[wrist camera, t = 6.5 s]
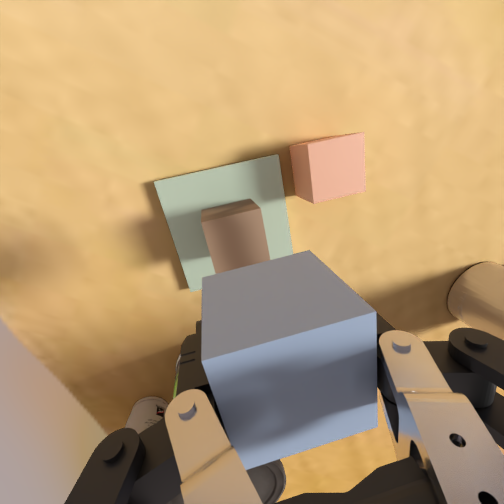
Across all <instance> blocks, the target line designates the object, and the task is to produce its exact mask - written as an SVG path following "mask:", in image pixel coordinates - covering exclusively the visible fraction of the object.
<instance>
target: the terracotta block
mask: <svg viewBox="0 0 504 504" xmlns="http://www.w3.org/2000/svg"><path fill="white" fill-rule="evenodd" d="M289 147H290V155H291V162H292V170H293V178H294V186H295V193H296V196H298V197H300V198H303V199H305V200H307V201H309V202H311V203H313V204H315V203H319V202H323V201H327V200H331V199H336V198H340V197H344V196H348V195H352V194H356V193H361V192H365V191H366V187H365V147H364V132H361V133H353V134H345V135H337V136H332V137H328V138H323V139H319V140H314V141H309V142H305V143H300V144H295V145H291V146H289Z"/></svg>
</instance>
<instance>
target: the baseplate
mask: <svg viewBox="0 0 504 504" xmlns="http://www.w3.org/2000/svg"><path fill="white" fill-rule="evenodd" d="M154 184H155V187H156V190H157V193H158V196H159V199H160V202H161V205H162V208H163V211H164V214H165V217H166V220H167V223H168V226H169V229H170V232H171V235H172V238H173V241H174V244H175V247H176V250H177V253H178V256H179V259H180V262H181V265H182V268H183V271H184V274H185V277H186V280H187V283H188V286H189V289H190V292H193V291H197V290H201V289H202V277H206V276H210V275H214V274H216V273H215V270H214V266H213V263H212V259H211V256H210V252H209V249H208V245H207V242H206V238H205V235H204V231H203V228H202V224H201V210H203V209H207V208H212V207H216V206H220V205H224V204H229V203H233V202H237V201H242V200H246V199H250V198H251V199H252V200H253V201H254V202H255V203H256V204H257V205H258V206H259V207H260V208H261V212H262V217H263V223H264V228H265V234H266V239H267V244H268V250H269V255H270V260H273V259H277V258H281V257H285V256H289V255H292V254H293V249H292V242H291V236H290V229H289V222H288V215H287V208H286V202H285V195H284V188H283V181H282V175H281V168H280V161H279V154H275V155H270V156H266V157H261V158H257V159H252V160H248V161H243V162H239V163H234V164H230V165H225V166H220V167H216V168H211V169H207V170H202V171H198V172H193V173H189V174H184V175H180V176H175V177H171V178H166V179H162V180H157V181H154Z"/></svg>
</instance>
